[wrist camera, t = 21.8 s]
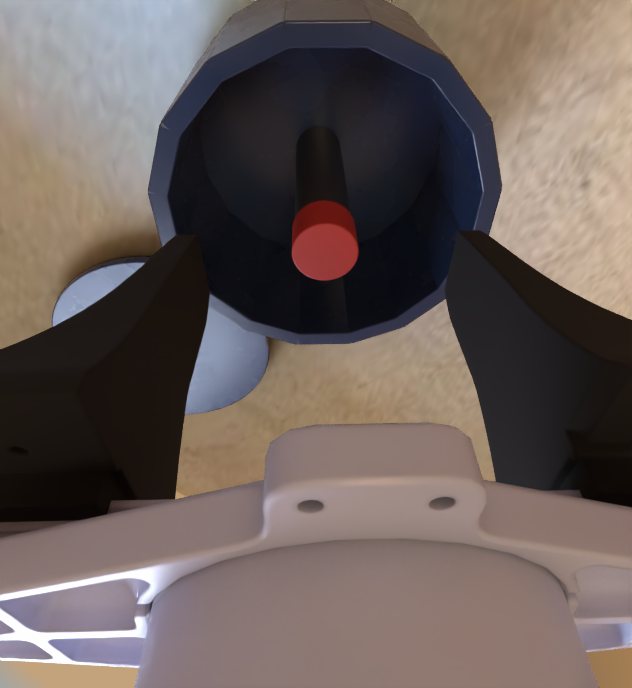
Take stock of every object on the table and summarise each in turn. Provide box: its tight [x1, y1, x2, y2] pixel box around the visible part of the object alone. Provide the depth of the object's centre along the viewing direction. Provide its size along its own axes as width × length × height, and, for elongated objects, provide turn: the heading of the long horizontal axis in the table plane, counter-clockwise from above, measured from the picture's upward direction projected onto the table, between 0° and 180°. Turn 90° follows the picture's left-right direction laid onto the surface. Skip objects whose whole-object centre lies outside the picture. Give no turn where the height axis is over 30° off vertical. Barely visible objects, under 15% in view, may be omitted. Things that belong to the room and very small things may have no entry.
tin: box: [148, 0, 502, 344], centre depth 17 cm, size 11×11×6 cm
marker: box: [292, 127, 359, 280], centre depth 17 cm, size 2×2×8 cm
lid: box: [52, 257, 269, 414], centre depth 25 cm, size 12×12×4 cm
